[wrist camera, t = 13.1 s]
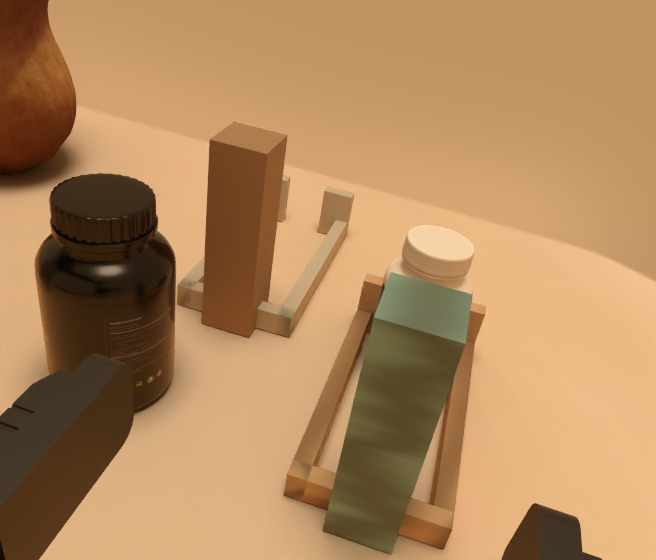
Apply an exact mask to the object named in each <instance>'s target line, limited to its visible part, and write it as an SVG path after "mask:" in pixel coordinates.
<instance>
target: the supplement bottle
mask: <svg viewBox="0 0 656 560" xmlns="http://www.w3.org/2000/svg"><path fill="white" fill-rule="evenodd" d="M49 202H50V211H51V220H50V224H51V232H52V234H50V235H49V236H48V237H47V238H46V239H45V240H44V242H43V243H42V245H41V246H40V248H39V250H38V252H37V254H36V258H35V276H36V283H37V290H38V298H39V305H40V312H41V319H42V326H43V334H44V341H45V348H46V355H47V362H48V369H49V375H51V374H53V373H55V372H57V371H58V370H61V371H64V372H67V373H70V374H71V373H72V372H73V371H74V370H75V369H76V368H77V367H78V366H79V365H80V364H81V363H82V362H83V361H84V360H85V359H86V358H87V357H88V356H89V355H91V354H94V353H96V354H100V355H102V356H105V357H108V358H111V359H114V360H117V361H120V362H123V363H126V364H129V365H130V366H131V367H132V372H133V409H134V411H135V410H138V409H140V408H143V407H145V406H146V405H148V404H150V403H151V402H153V401H154V400H155V399H157V398H158V397H159V396H160V395H161V394H162V393H163V392H164V391H165V389H166V388H167V386H168V385H169V383H170V381H171V378H172V375H173V369H174V341H175V288H176V261H175V254H174V251H173V249H172V247H171V245H170V244H169V242H168V241H167V239H166V238H165V237H164V236H163V235H162V234H161V233H160V232H158V231H157V229H158V218H157V215H156V199H155V194H154V193H153V190H152V189H151V188H149V186H148V185H146V184H144V183H143V182H141V181H138V180H137V179H134V178H130V177H128V176H122V175H115V174H102V173H99V174H88V175H81V176H78V177H72V178H71V179H68V180H65V181H63V182H62V183H59V184H58V186H56V187H54V190H53V191H52V192H51V194H50V199H49Z"/></svg>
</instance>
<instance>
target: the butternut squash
mask: <svg viewBox="0 0 656 560" xmlns="http://www.w3.org/2000/svg"><path fill="white" fill-rule="evenodd" d="M48 1H49V0H0V173H10V174H16V173H18V172H20V171H22V170H23V169H27V168H31V167H35V166H39V165H41V164H43V163H44V162H46V161H48V160H49V159H51V158H52V157H53V156H54V155H55V154H56V152H57V151H58V150H59V148H60V146H61V145H62V144H63V143H64V141H65V140H66V139H67V137H68V136H69V135H70V133H71V131H72V128H73V125H74V121H75V117H76V94H75V89H74V85H73V82H72V78H71V75H70V72H69V69H68V67H67V64H66V62H65V60H64V57H63V55H62V53H61V51H60V49H59V47H58V45H57V43H56V41H55V39H54V36H53V34H52V31H51V28H50V25H49V20H48V11H47V8H48Z"/></svg>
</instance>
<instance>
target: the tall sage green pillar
mask: <svg viewBox="0 0 656 560" xmlns="http://www.w3.org/2000/svg"><path fill="white" fill-rule="evenodd" d="M383 280H384V278H382V277H378V276H375V275H371V274H367V275H366V277H365V279H364V283H363V287H362V292H361V296H360V301H359V305H358V310H357V312H356V314H355V317H354V319H353V321H352V324H351V326H350V328H349V331H348V333H347V335H346V338H345V340H344V343H343V345H342V347H341V350H340V352H339V354H338V357H337V359H336V361H335V364H334V366H333V368H332V371H331V373H330V375H329V378H328V380H327V383H326V385H325V387H324V390H323V392H322V394H321V397H320V399H319V401H318V404H317V406H316V408H315V411H314V413H313V415H312V418H311V420H310V423H309V425H308V427H307V430H306V432H305V434H304V437H303V439H302V441H301V444H300V446H299V448H298V451H297V453H296V455H295V458H294V460H293V463H292V465H291V467H290V470H289V472H288V474H287V480H286V486H285V492H284V495H286V496H289V497H291V498H294V499H297V500H300V501H303V502H306V503H309V504H312V505H315V506H318V507H321V508H324V509H327V515H326V519H325V523H324V527H323V531H325V532H328V533H331V534H334V535H337V536H340V537H342V538H345V539H348V540H351V541H354V542H357V543H360V544H363V545H365V546H368V547H371V548H374V549H377V550H380V551H383V552H386V553H389V554H391V553H392V550H393V547H394V544H395V541H396V539H397V536H398V534H400V535H403V536H406V537H409V538H411V539H414V540H417V541H420V542H423V543H426V544H429V545H432V546H435V547H438V548H441V549H444V547H445V545H446V542H447V540H448V538H449V535H450V533H451V531H452V526H453V517H454V509H455V501H456V492H457V484H458V476H459V468H460V459H461V451H462V443H463V435H464V426H465V418H466V410H467V401H468V393H469V385H470V377H471V368H472V360H473V352H474V344H475V340H476V338H477V335H478V332H479V329H480V327H481V324H482V321H483V319H484V316H485V309H486V306H482V305H479V304H475V303H471V302H472V295H473V294H469V293H465V292H462V291H458V290H455V289H451V288H447V287H444V286H440V285H437V284H433V283H429V282H426V281H422V280H419V279H415V278H411V277H408V276H404V275H400V274H397V273H393V272H391V273H390V276H389V278H388V281H387V284H386V286H385V289H384V292H383V294H382V297H381V300H380V302H379V305H378V301H379V297H380V293H381V288H382V284H383ZM377 305H378V308H377ZM376 309H377V310H376ZM367 331H368V332H370V335H369V340H368V344H367V348H366V352H365V356H364V360H363V365H362V369H361V373H360V377H359V381H358V385H357V390H356V394H355V398H354V402H353V406H352V410H351V415H350V419H349V423H348V427H347V431H346V435H345V440H344V444H343V448H342V452H341V456H340V460H339V465H338V469H337V473H334V472H331V471H328V470H325V469H322V468H319V467H316V465H317V462H318V460H319V457H320V454H321V452H322V449H323V447H324V444H325V441H326V439H327V436H328V433H329V431H330V428H331V426H332V423H333V420H334V418H335V415H336V412H337V410H338V407H339V404H340V402H341V399H342V397H343V394H344V391H345V389H346V386H347V383H348V381H349V378H350V375H351V373H352V370H353V368H354V365H355V362H356V360H357V357H358V354H359V352H360V349H361V347H362V344H363V341H364V339H365V336H366V333H367ZM446 398H447V401H446ZM445 401H446V407H445V413H444V419H443V425H442V431H441V437H440V444H439V450H438V456H437V462H436V468H435V474H434V480H433V486H432V492H431V498H430V504H428V503H425V502H422V501H419V500H416V499H413V498H411V496H412V493H413V491H414V488H415V485H416V482H417V479H418V477H419V474H420V471H421V468H422V465H423V463H424V460H425V457H426V454H427V451H428V448H429V446H430V443H431V440H432V437H433V434H434V432H435V429H436V426H437V423H438V420H439V417H440V415H441V412H442V409H443V406H444V403H445Z"/></svg>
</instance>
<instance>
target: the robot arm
mask: <svg viewBox="0 0 656 560" xmlns="http://www.w3.org/2000/svg"><path fill="white" fill-rule="evenodd" d="M133 417H134V409H133V372H132V367H131V366H130V365H129V364H126V363H123V362H120V361H117V360H114V359H111V358H108V357H105V356H102V355H100V354H96V353H94V354H91V355H89V356H88V357H87V358H86V359H85V360H84V361H83V362H82V363H81V364H80V365H79V366H78V367H77V368H76V369H75V370H74V371H73V372H72V373H71V374H70V373H67V372H64V371H61V370H58V371H57V372H55V373H53V374H51V375H49V376H47V377H45V378H43V379H41V380H39V381H37V382H36V383H34V384H32V385H31V386H30V387H29V388H28V389H27V390H26V391H25V392H24V393H23V394H22V395H21V396H20V397H19V398H18V399H17V400H16V401H15V402H14V403H13V405H12V407H11V408H8V409H7V410H6V411H5V412H4V413H3V414H2V415H1V416H0V560H39V559H40V557H41V556H42V555H43V553H44V552H45V551H46V549H47V548H48V546H49V545H50V544H51V542H52V541H53V540H54V538H55V537H56V536H57V534H58V533H59V531H60V530H61V529H62V527H63V526H64V525H65V523H66V522H67V521H68V519H69V518H70V517H71V515H72V514H73V512H74V511H75V510H76V508H77V507H78V506H79V504H80V503H81V502H82V500H83V499H84V498H85V496H86V495H87V493H88V492H89V491H90V489H91V488H92V487H93V485H94V484H95V483H96V481H97V480H98V478H99V477H100V476H101V474H102V473H103V472H104V470H105V469H106V468H107V466H108V465H109V464H110V462H111V461H112V459H113V458H114V457H115V455H116V454H117V453H118V451H119V450H120V449H121V447H122V446H123V444H124V443H125V441H126V439H127V437H128V435H129V432H130V430H131V427H132V423H133ZM502 560H602V559H601V558H598V557H595V556H593V555H590V554H587V553H584V552H582V542H581V529H580V523H579V520H578V519H577V517H575V516H572V515H569V514H566V513H563V512H560V511H557V510H554V509H551V508H548V507H545V506H542V505H539V504H536V503H535V504H533V505H532V506H531V507H530V509H529V510H528V512H527V514H526V515H525V517H524V519H523V520H522V522H521V524H520V525H519V527H518V529H517V530H516V532H515V534H514V535H513V537H512V539H511V540H510V542H509V544H508V545H507V547H506V549H505V551H504V554H503V557H502Z"/></svg>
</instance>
